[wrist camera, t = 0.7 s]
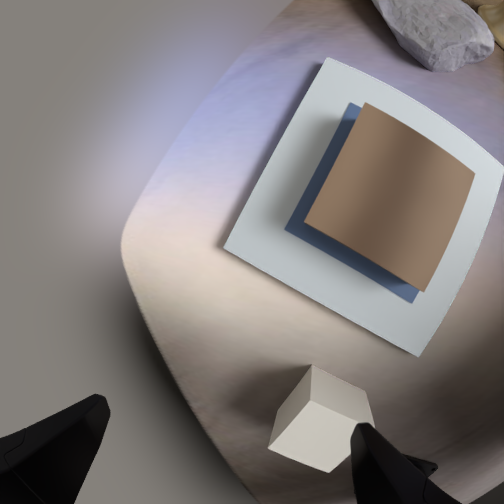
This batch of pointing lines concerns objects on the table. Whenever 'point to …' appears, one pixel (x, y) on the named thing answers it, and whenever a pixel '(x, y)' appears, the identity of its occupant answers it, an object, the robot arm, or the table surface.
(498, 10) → the hand bell
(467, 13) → the stone block
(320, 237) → the board
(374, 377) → the table surface
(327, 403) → the plastic cube
